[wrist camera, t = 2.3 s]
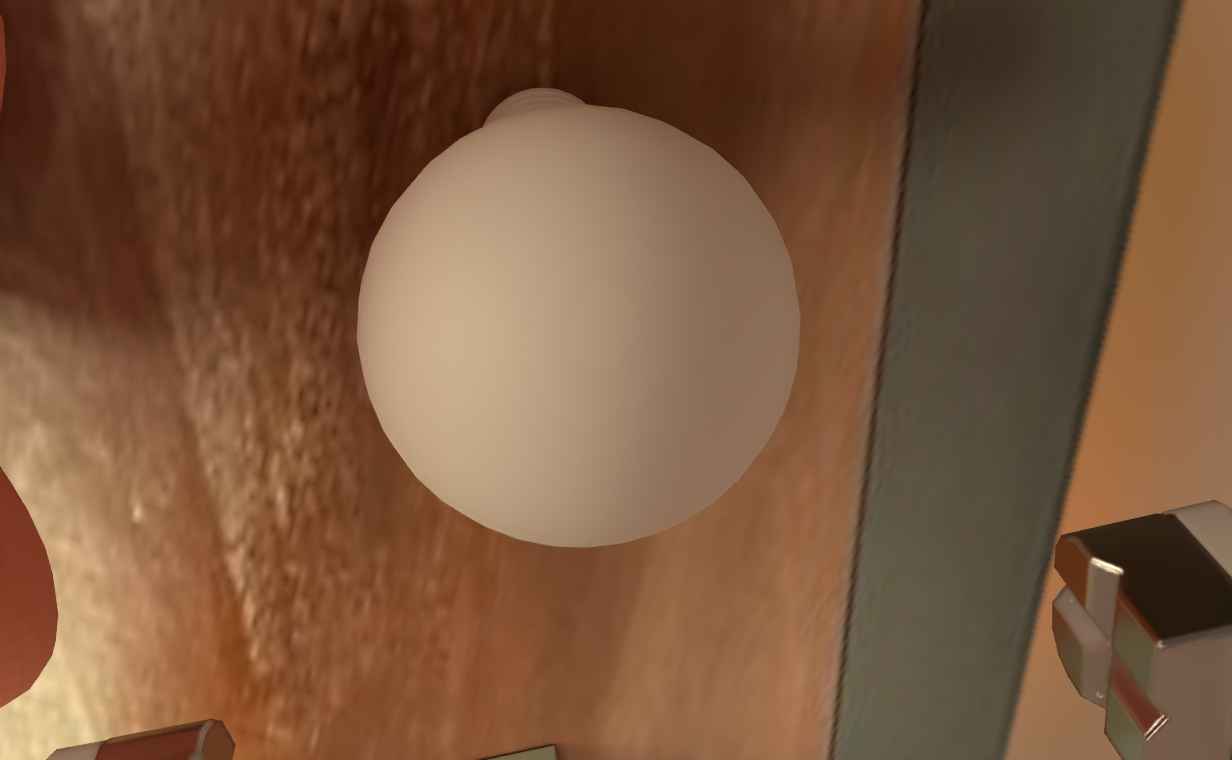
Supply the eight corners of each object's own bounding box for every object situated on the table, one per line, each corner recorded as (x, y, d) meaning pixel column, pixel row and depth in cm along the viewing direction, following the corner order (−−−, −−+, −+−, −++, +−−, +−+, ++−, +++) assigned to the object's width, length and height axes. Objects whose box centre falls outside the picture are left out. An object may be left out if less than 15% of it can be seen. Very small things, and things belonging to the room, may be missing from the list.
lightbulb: (749, 140, 23) (954, 444, 14) (534, 327, 25) (589, 711, 16) (544, -95, 20) (631, 91, 11) (317, 134, 22) (225, 462, 13)
